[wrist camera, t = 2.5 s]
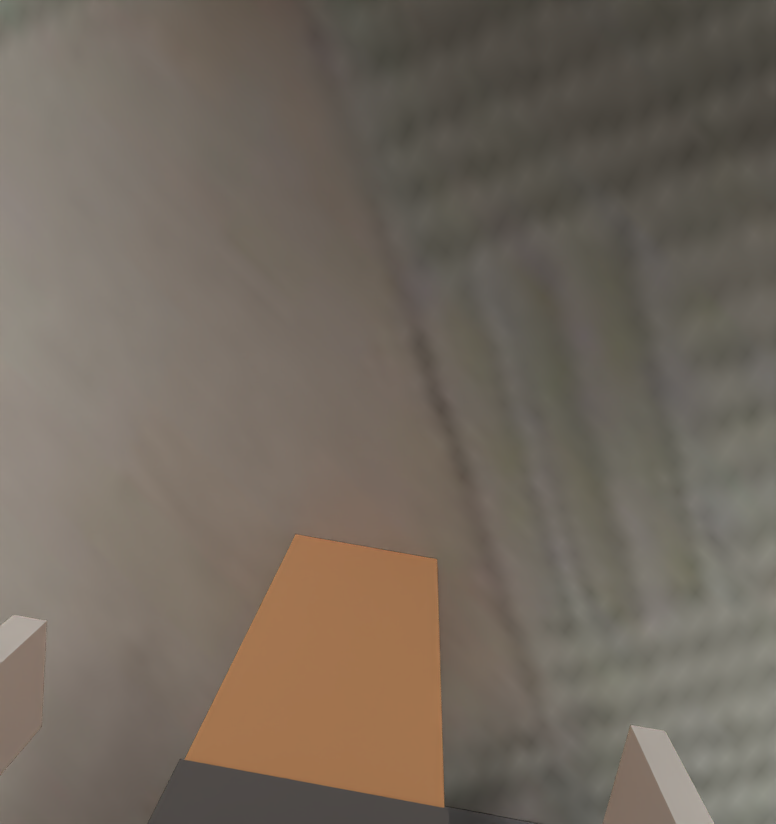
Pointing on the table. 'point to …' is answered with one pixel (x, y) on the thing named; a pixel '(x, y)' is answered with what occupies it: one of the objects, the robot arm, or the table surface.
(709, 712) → the table surface
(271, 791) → the plug
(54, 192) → the table surface
